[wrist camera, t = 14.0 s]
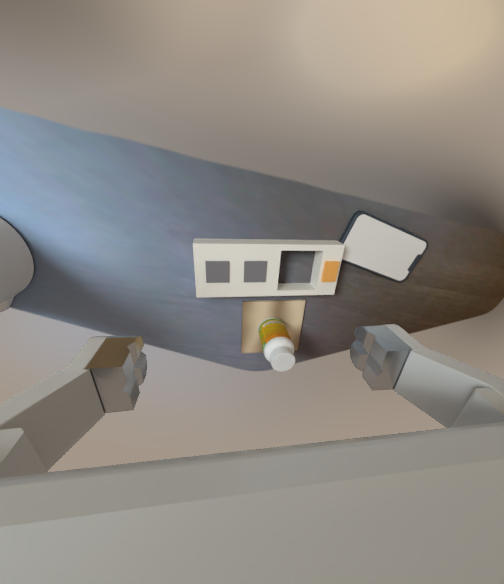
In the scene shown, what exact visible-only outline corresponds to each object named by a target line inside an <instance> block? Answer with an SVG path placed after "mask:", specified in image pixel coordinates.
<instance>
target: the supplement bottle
mask: <svg viewBox="0 0 504 584" xmlns="http://www.w3.org/2000/svg"><path fill="white" fill-rule="evenodd" d="M258 333H259V337H260V341H261V344H262V348H263V352H264V355H265V358H266V359H267V360H268V361H269V362H271V365H272V368H273V369H274V370H276V371H280V372H282V371H287V370H289V369H291V368H292V367H293V365H294V364H295V357H294V345H293V342H292V340H291V338H290V336H289V333H288V331H287V329H286V327H285V324H284V323H283V321H282V320H280V319H279V318H275V317H271V318H267V319H265V320H264V321H262V322H261V324H260V325H259V328H258Z"/></svg>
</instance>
